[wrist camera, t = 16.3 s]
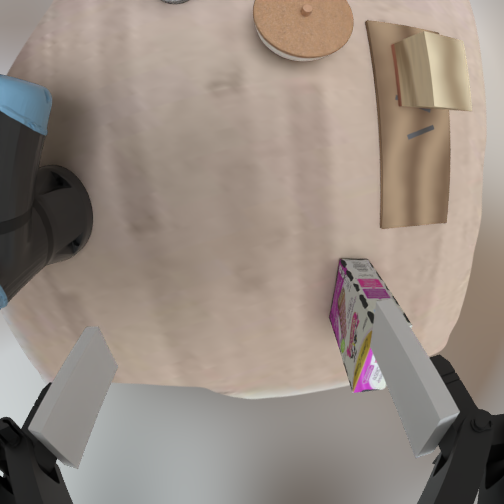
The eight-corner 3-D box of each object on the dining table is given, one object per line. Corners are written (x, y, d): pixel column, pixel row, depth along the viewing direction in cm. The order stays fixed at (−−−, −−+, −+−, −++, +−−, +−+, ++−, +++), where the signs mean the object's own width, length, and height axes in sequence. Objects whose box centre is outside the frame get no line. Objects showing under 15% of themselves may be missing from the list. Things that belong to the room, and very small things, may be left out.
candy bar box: (337, 257, 43) (375, 326, 28) (368, 258, 43) (415, 323, 29) (326, 318, 48) (351, 395, 33) (354, 317, 48) (386, 390, 33)
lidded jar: (254, 68, 33) (255, 52, 24) (251, -2, 28) (251, -33, 20) (337, 71, 32) (362, 58, 24) (332, 2, 28) (353, -25, 19)
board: (380, 227, 41) (382, 229, 41) (365, 21, 29) (367, 20, 28) (443, 220, 41) (446, 222, 40) (435, 33, 28) (438, 32, 28)
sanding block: (398, 106, 33) (434, 106, 25) (390, 44, 30) (423, 31, 21) (433, 109, 33) (471, 111, 25) (426, 50, 29) (463, 41, 21)
